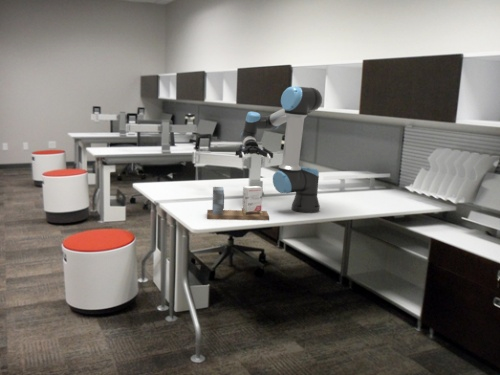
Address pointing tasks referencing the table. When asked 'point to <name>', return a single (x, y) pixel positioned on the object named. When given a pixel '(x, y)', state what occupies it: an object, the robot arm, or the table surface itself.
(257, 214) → the wooden desk organizer
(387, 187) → the table surface
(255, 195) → the ink box
